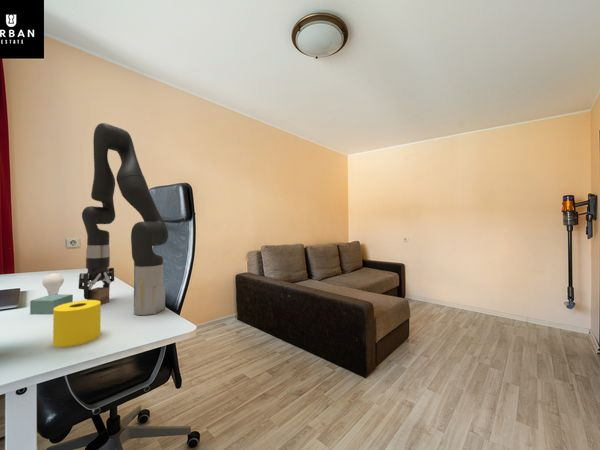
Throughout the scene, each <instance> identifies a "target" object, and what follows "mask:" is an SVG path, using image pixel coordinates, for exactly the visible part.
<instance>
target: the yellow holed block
mask: <svg viewBox="0 0 600 450" xmlns="http://www.w3.org/2000/svg"><path fill="white" fill-rule="evenodd" d="M101 307H102V305H101V302H100V301H98V300H87V299H84V300H76V301H73V302H70V303H66V304H62V305H59V306H57V307H55V308H54V309H53V314H52V315H53V316H52V317H53V318H52V320H53V322H52V325H53V326H52V329H53V330H52V333H53V334H52V335H53V336H52V345H53V346H54V347H56V348H67V347H74V346H80V345H83V344H87V343H89V342H91V341H94V340H96V339H98V338H99V337H100V335H101V312H102V311H101Z"/></svg>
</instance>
